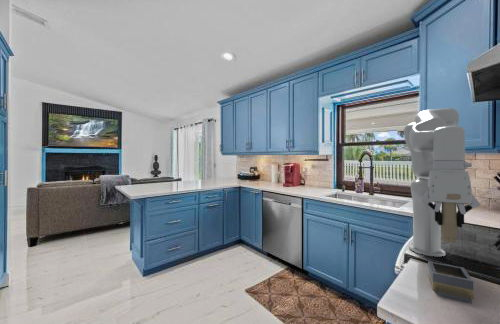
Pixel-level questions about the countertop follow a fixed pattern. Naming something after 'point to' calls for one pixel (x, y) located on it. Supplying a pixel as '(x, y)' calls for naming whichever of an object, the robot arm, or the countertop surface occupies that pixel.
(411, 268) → the countertop surface
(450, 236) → the handle
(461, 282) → the open grey tray
